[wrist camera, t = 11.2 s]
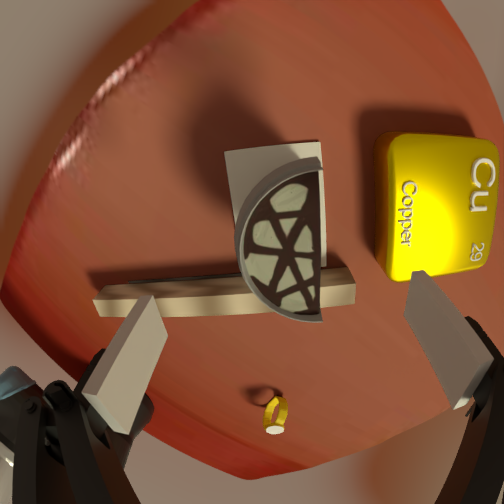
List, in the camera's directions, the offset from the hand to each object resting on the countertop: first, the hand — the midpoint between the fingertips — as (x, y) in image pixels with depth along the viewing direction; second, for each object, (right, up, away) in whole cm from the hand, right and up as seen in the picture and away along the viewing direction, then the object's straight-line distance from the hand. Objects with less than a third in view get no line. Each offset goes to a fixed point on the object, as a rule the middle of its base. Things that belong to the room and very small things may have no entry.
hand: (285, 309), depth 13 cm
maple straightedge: (-6, -1, +19) cm, 19 cm away
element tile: (+18, +9, +13) cm, 24 cm away
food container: (+1, +7, +14) cm, 16 cm away
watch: (+2, -21, +28) cm, 35 cm away
